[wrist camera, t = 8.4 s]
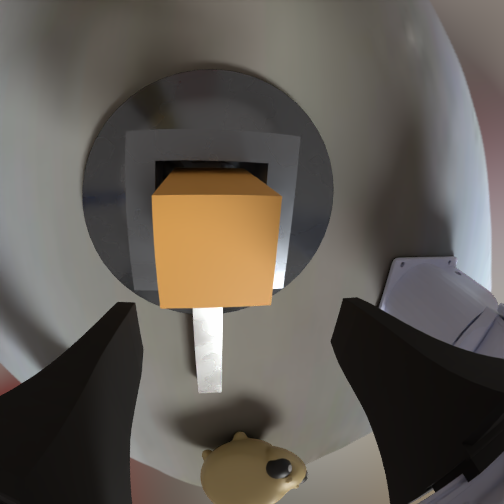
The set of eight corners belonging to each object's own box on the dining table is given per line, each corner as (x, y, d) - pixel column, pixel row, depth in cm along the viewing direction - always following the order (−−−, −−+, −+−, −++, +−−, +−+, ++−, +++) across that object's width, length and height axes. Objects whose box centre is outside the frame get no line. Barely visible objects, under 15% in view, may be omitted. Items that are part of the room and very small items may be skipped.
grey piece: (338, 90, 15) (369, 82, 12) (294, 372, 25) (306, 402, 21) (89, 79, 12) (64, 68, 9) (123, 377, 22) (117, 409, 18)
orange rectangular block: (243, 168, 16) (282, 196, 9) (240, 232, 17) (270, 305, 10) (174, 167, 15) (151, 195, 8) (175, 233, 17) (160, 308, 9)
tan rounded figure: (301, 435, 31) (324, 500, 21) (223, 462, 31) (234, 524, 22) (273, 407, 27) (300, 491, 17) (182, 438, 27) (187, 515, 17)
